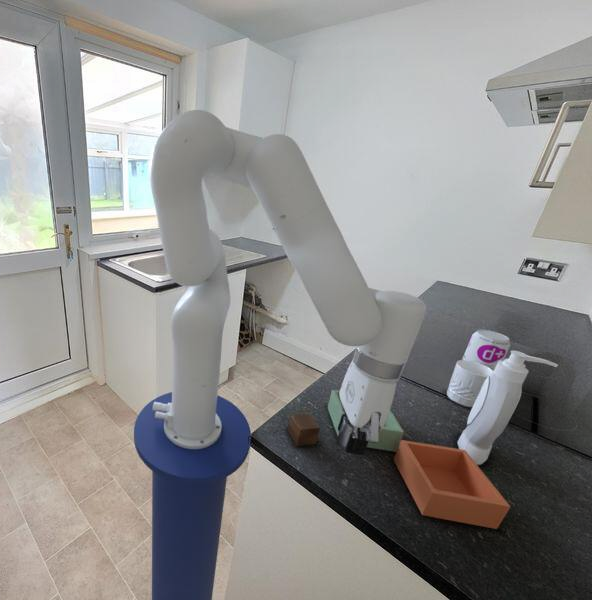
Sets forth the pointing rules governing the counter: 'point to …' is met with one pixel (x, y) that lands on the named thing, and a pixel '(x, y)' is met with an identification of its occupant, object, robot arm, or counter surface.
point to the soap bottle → (495, 405)
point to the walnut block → (303, 429)
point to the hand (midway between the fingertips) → (349, 441)
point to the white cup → (467, 382)
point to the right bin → (449, 485)
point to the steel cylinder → (346, 431)
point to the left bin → (387, 435)
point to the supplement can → (487, 348)
